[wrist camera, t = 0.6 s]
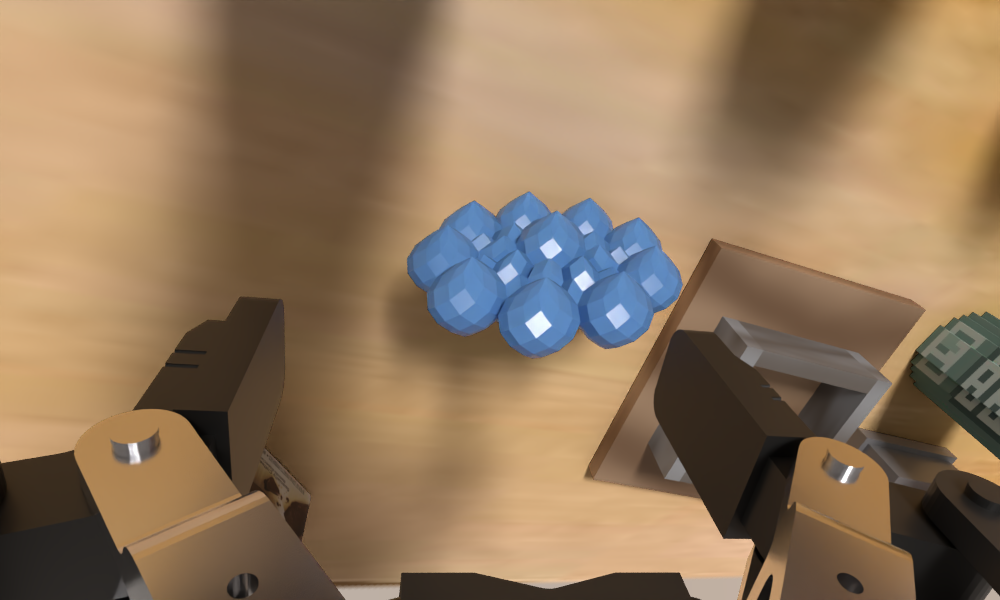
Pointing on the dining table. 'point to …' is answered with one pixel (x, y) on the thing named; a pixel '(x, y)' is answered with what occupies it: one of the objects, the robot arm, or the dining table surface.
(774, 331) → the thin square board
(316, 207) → the dining table surface
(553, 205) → the dining table surface
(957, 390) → the can
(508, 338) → the grapes
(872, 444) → the button housing
